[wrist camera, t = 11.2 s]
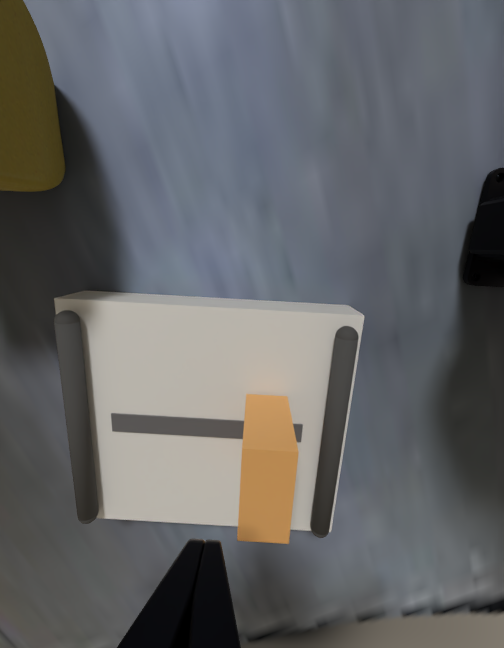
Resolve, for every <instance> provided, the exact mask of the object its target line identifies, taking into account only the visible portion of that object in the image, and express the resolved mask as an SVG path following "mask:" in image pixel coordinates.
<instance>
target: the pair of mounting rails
mask: <svg viewBox="0 0 504 648" xmlns="http://www.w3.org/2000/svg"><path fill="white" fill-rule="evenodd" d="M54 326H55V335H56V343H57V351H58V359H59V367H60V375H61V384H62V392H63V400H64V408H65V416H66V425H67V433H68V441H69V449H70V457H71V466H72V474H73V482H74V490H75V498H76V506H77V515H78V520H79V521H80V522H81V523H83V524H88V523H91V522H92V521H94V520H95V519H96V517H97V516H98V513H99V505H98V495H97V485H96V474H95V464H94V454H93V444H92V434H91V424H90V413H89V403H88V393H87V383H86V373H85V363H84V352H83V342H82V332H81V322H80V317H79V316H78V314H76V313H75V312H73V311H70V310H64V311H61V312H59V313H58V314H57V315H56V316H55V318H54ZM358 338H359V336H358V333H357V331H356V330H355V329H354V328H353V327H350V326H343V327H341V328H339V329H338V330H337V332H336V334H335V340H334V348H333V355H332V363H331V371H330V378H329V386H328V394H327V401H326V409H325V416H324V424H323V432H322V439H321V447H320V455H319V462H318V470H317V478H316V485H315V493H314V500H313V508H312V516H311V523H310V527H311V530H312V532H313V534H314V535H315V536H317V537H319V538H323V537H325V536H327V534H328V533H329V529H330V522H331V516H332V509H333V503H334V496H335V489H336V483H337V476H338V470H339V463H340V457H341V450H342V444H343V437H344V431H345V424H346V417H347V411H348V404H349V398H350V391H351V385H352V378H353V372H354V365H355V358H356V352H357V345H358Z"/></svg>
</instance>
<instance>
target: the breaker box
mask: <svg viewBox="0 0 504 648" xmlns="http://www.w3.org/2000/svg"><path fill="white" fill-rule="evenodd" d="M54 302H55V311H56V315H57V314H58V313H59V312H61V311H64V310H70V311H73V312H75V313H76V314H78V316H79V317H80V322H81V332H82V342H83V352H84V363H85V373H86V383H87V393H88V403H89V413H90V424H91V434H92V444H93V454H94V464H95V474H96V485H97V495H98V505H99V513H98V516H97V517H96V518H105V519H122V520H139V521H156V522H173V523H189V524H206V525H223V526H238V517H239V497H240V478H241V459H242V443H243V430H244V417H245V404H246V394H256V395H274V396H287V397H288V402H289V407H290V412H291V416H292V421H293V426H294V431H295V436H296V441H297V446H298V451H299V453H298V463H297V472H296V481H295V490H294V499H293V508H292V517H291V527H290V530H307V531H312V530H311V527H310V523H311V516H312V508H313V500H314V493H315V485H316V478H317V470H318V462H319V455H320V447H321V439H322V432H323V424H324V416H325V409H326V401H327V394H328V386H329V378H330V371H331V363H332V355H333V348H334V340H335V334H336V332H337V330H338V329H339V328H341V327H343V326H350V327H353V328H354V329H355V330H356V331H357V333H358V336H359V338H358V345H357V352H356V358H355V365H354V372H353V378H352V385H351V391H350V398H349V404H348V411H347V417H346V424H345V431H344V437H343V444H342V450H341V457H340V463H339V470H338V476H337V483H336V489H335V496H334V503H333V509H332V516H331V522H330V529H329V532H331V529H332V522H333V516H334V509H335V503H336V496H337V490H338V484H339V477H340V471H341V464H342V458H343V451H344V445H345V438H346V432H347V425H348V419H349V412H350V406H351V400H352V393H353V387H354V380H355V374H356V367H357V361H358V354H359V348H360V341H361V335H362V328H363V322H364V315H363V314H361V313H360V312H358V311H356V310H355V309H353V308H352V307H350V306H349V305H336V304H318V303H301V302H283V301H265V300H247V299H229V298H211V297H193V296H175V295H158V294H140V293H122V292H104V291H86V290H85V291H81V292H77V293H73V294H69V295H65V296H61V297H57V298H54Z"/></svg>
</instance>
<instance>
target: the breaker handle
mask: <svg viewBox="0 0 504 648" xmlns="http://www.w3.org/2000/svg"><path fill="white" fill-rule="evenodd" d="M298 453H299V451H298V446H297V441H296V436H295V431H294V426H293V421H292V416H291V412H290V407H289V402H288V397H287V396H274V395H256V394H246V404H245V417H244V430H243V443H242V459H241V478H240V497H239V517H238V536H237V541H251V542H268V543H285V544H289V536H290V527H291V517H292V508H293V499H294V490H295V481H296V472H297V463H298Z"/></svg>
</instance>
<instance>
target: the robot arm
mask: <svg viewBox="0 0 504 648" xmlns="http://www.w3.org/2000/svg"><path fill="white" fill-rule="evenodd" d="M497 175H499V181H498V182H497V181H496V176H497ZM473 274H475V275H476V277H475V279H474V280H472V276H473ZM463 280H464V282H465V283H466V284H469V285H475V286H493V287H504V168H499V169H496V170H493V171H491V172H490V173H489V174H488V175H487V178H486V181H485V186H484V190H483V194H482V198H481V203H480V206H479V207H478V211H477V215H476V220H475V224H474V228H473V233H472V237H471V241H470V245H469V254H468V258H467V262H466V267H465V271H464V275H463ZM117 648H241V646H240V641H239V635H238V630H237V625H236V620H235V614H234V609H233V604H232V598H231V593H230V588H229V583H228V577H227V572H226V567H225V561H224V556H223V551H222V546H221V542H220V541H219V540H206V541H204V540H203V539H190V540H189V541H188V542H187V543H186V545H185V546H184V548H183V549H182V551H181V552H180V554H179V555H178V557H177V558H176V560H175V561H174V563H173V564H172V566H171V567H170V569H169V570H168V572H167V573H166V575H165V576H164V578H163V579H162V581H161V582H160V584H159V585H158V587H157V588H156V590H155V591H154V593H153V594H152V596H151V597H150V599H149V600H148V602H147V603H146V605H145V606H144V608H143V609H142V611H141V612H140V614H139V615H138V617H137V618H136V620H135V621H134V623H133V624H132V626H131V627H130V629H129V630H128V632H127V633H126V635H125V636H124V638H123V639H122V641H121V642H120V644H119V645H118V647H117Z"/></svg>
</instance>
